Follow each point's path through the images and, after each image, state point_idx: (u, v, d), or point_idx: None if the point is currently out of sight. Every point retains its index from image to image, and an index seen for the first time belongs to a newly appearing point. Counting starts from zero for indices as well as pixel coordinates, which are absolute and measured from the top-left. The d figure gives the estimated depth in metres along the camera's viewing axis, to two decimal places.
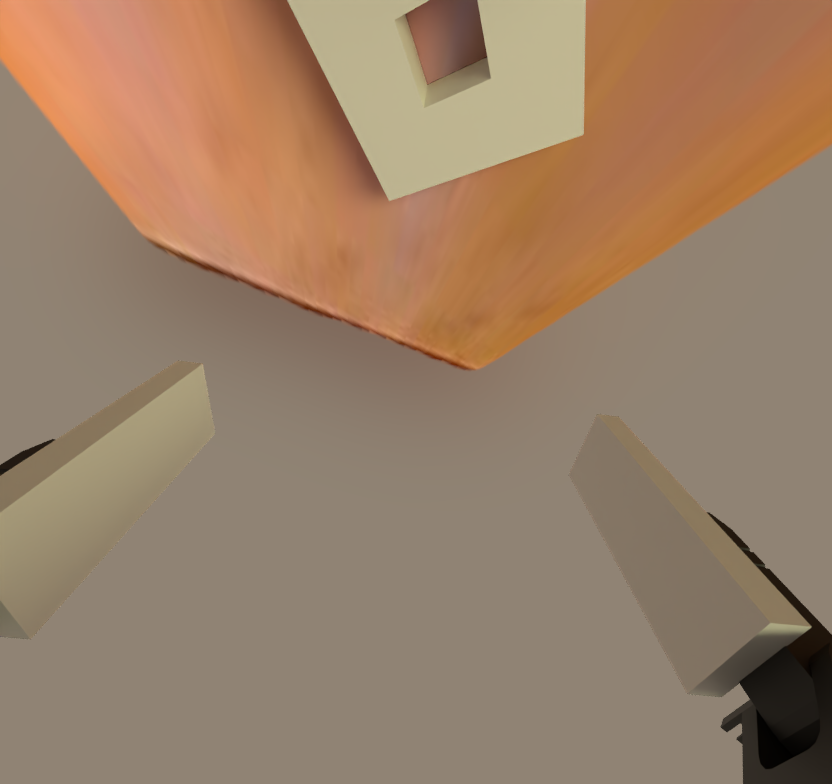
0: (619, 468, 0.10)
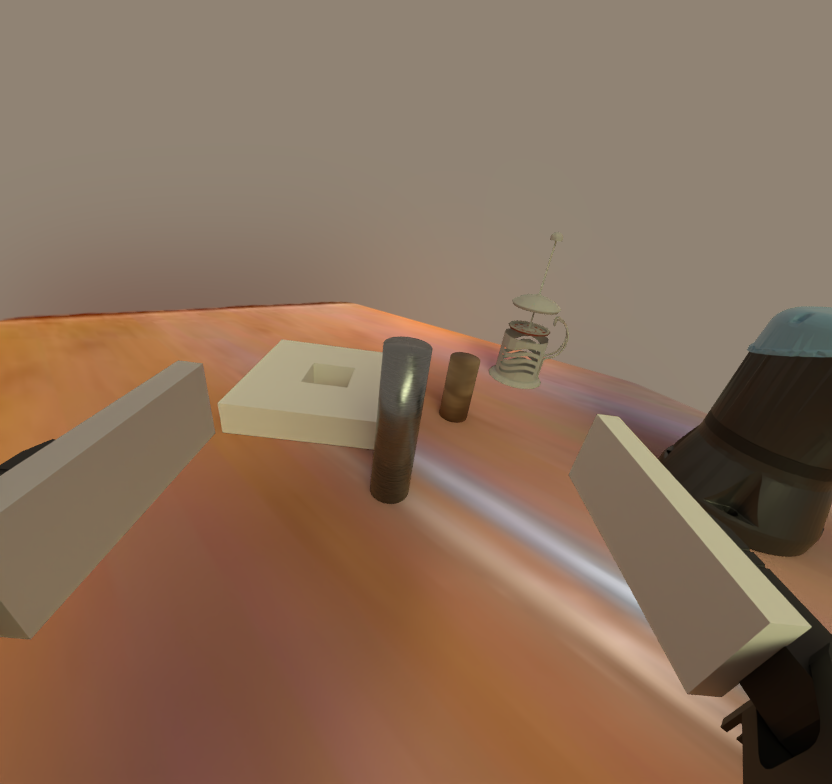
0: (619, 468, 0.10)
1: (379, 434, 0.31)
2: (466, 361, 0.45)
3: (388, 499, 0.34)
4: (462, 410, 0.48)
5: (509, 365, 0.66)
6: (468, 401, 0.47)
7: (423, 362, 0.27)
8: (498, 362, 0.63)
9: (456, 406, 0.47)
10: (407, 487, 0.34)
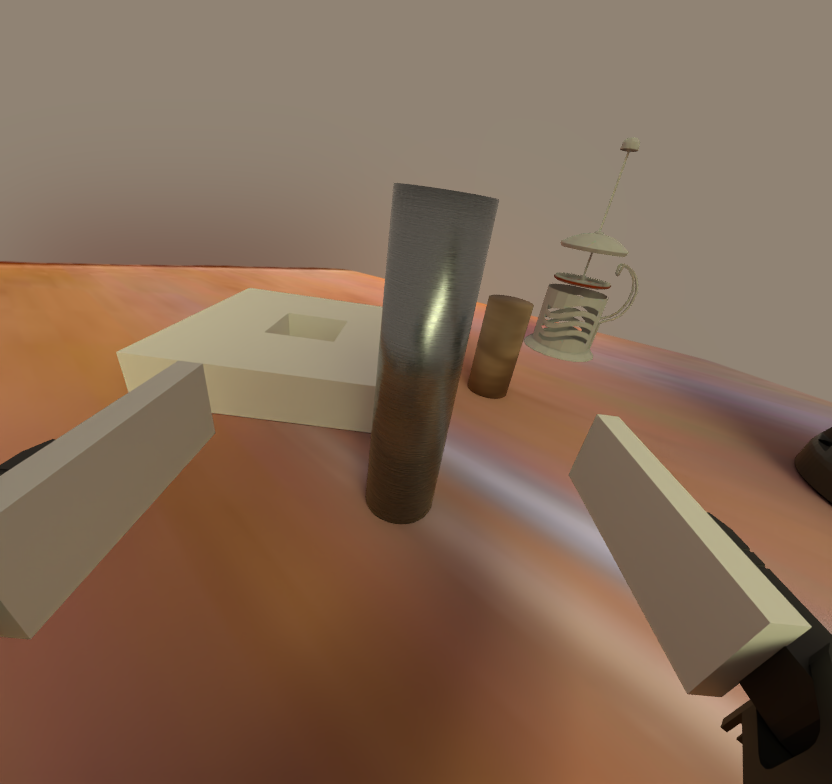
0: (619, 468, 0.10)
1: (382, 391, 0.16)
2: (514, 303, 0.30)
3: (398, 516, 0.19)
4: (503, 380, 0.33)
5: None
6: (512, 367, 0.32)
7: (483, 218, 0.12)
8: (538, 328, 0.48)
9: (494, 374, 0.32)
10: (431, 494, 0.19)
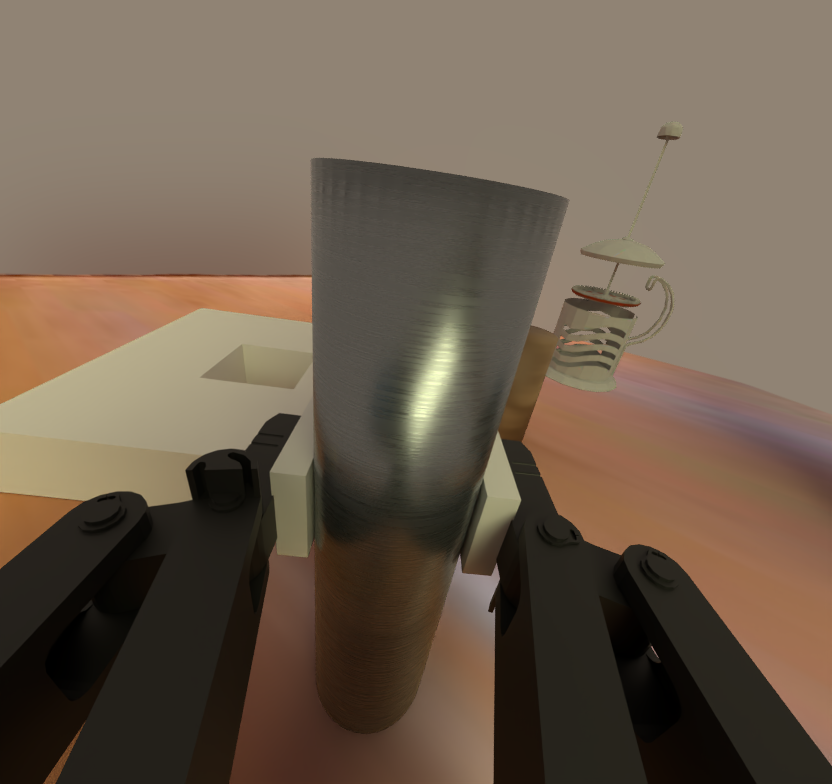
0: None
1: (321, 564, 0.08)
2: (533, 337, 0.23)
3: (363, 726, 0.11)
4: (517, 432, 0.25)
5: (564, 356, 0.44)
6: (529, 415, 0.25)
7: (536, 249, 0.05)
8: None
9: (506, 426, 0.25)
10: (419, 679, 0.12)
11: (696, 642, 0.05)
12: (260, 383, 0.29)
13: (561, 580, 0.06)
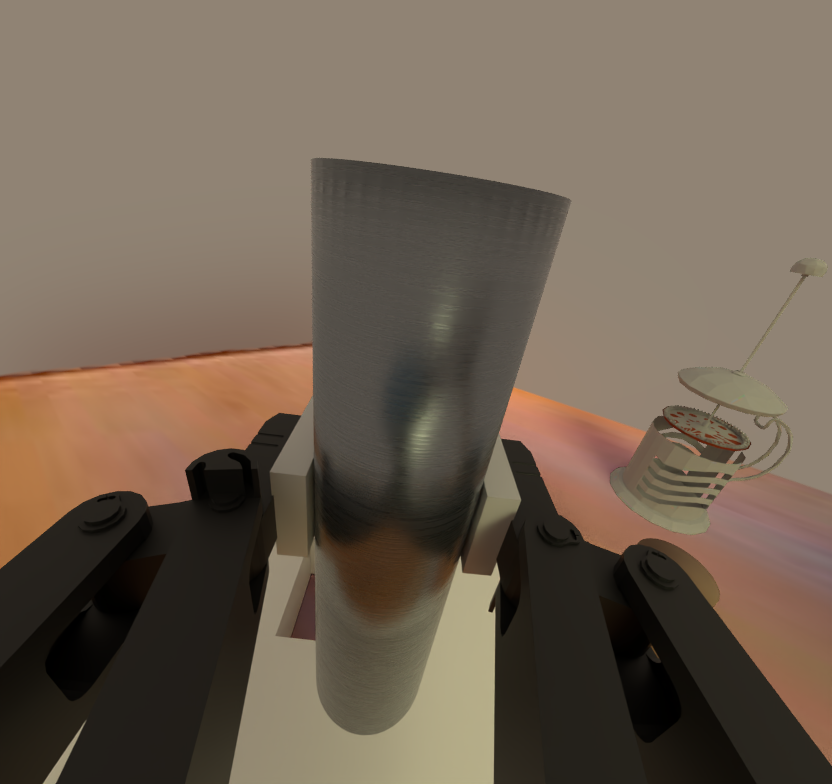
0: None
1: (322, 565, 0.08)
2: None
3: (363, 728, 0.11)
4: None
5: None
6: None
7: (537, 250, 0.05)
8: (635, 477, 0.36)
9: None
10: (420, 681, 0.12)
11: (696, 642, 0.05)
12: None
13: (561, 580, 0.06)
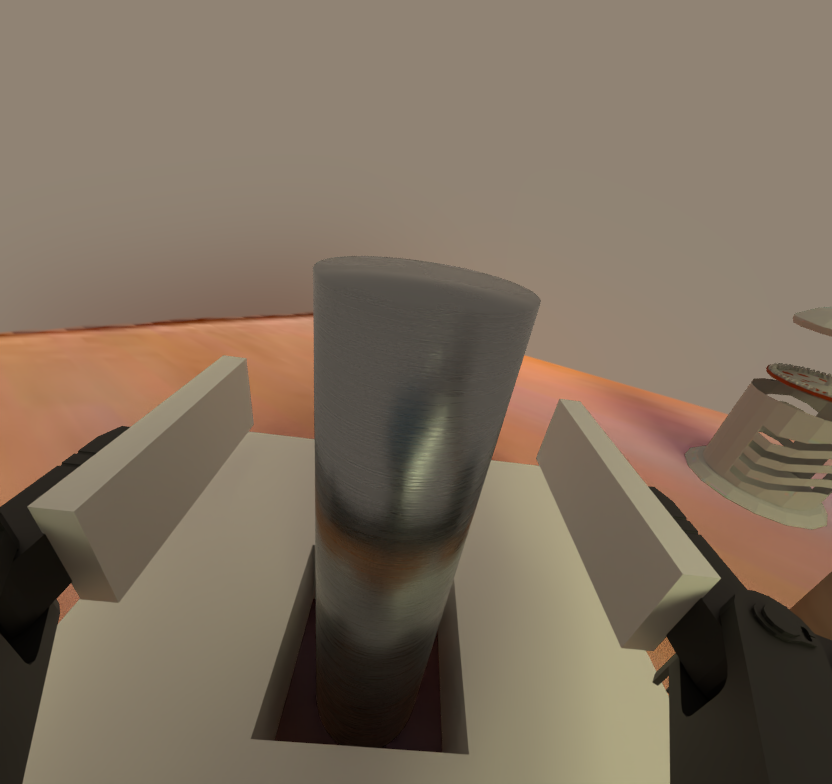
0: (575, 448, 0.11)
1: (322, 601, 0.09)
2: None
3: (361, 745, 0.12)
4: None
5: None
6: None
7: (509, 353, 0.05)
8: (728, 457, 0.28)
9: None
10: (414, 700, 0.13)
11: None
12: None
13: (792, 682, 0.05)
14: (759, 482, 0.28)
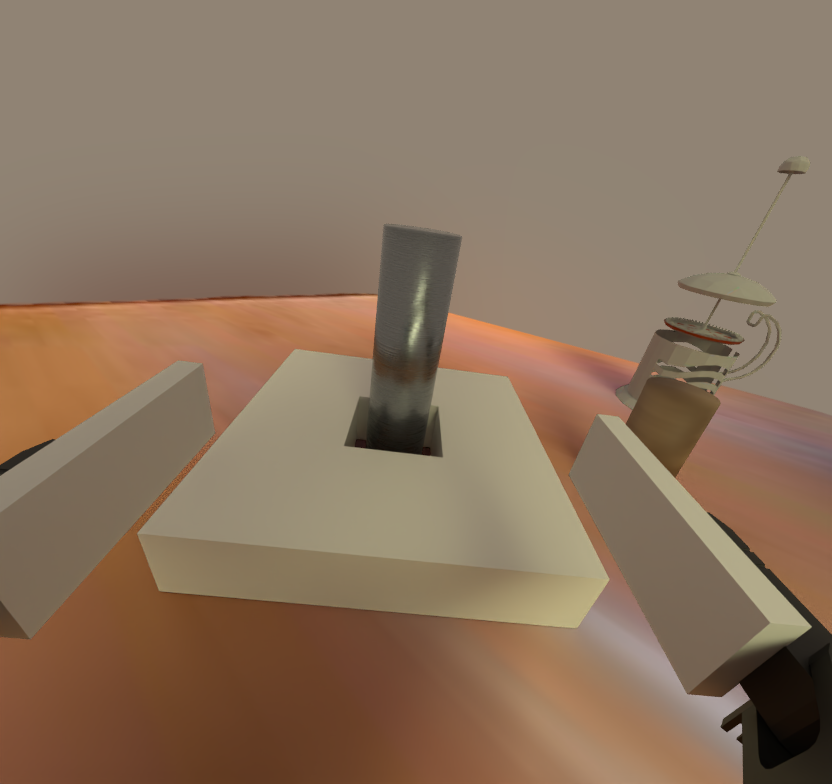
0: (619, 468, 0.10)
1: (376, 381, 0.20)
2: (694, 398, 0.21)
3: None
4: None
5: None
6: None
7: (449, 251, 0.17)
8: (640, 384, 0.39)
9: None
10: None
11: None
12: None
13: None
14: None
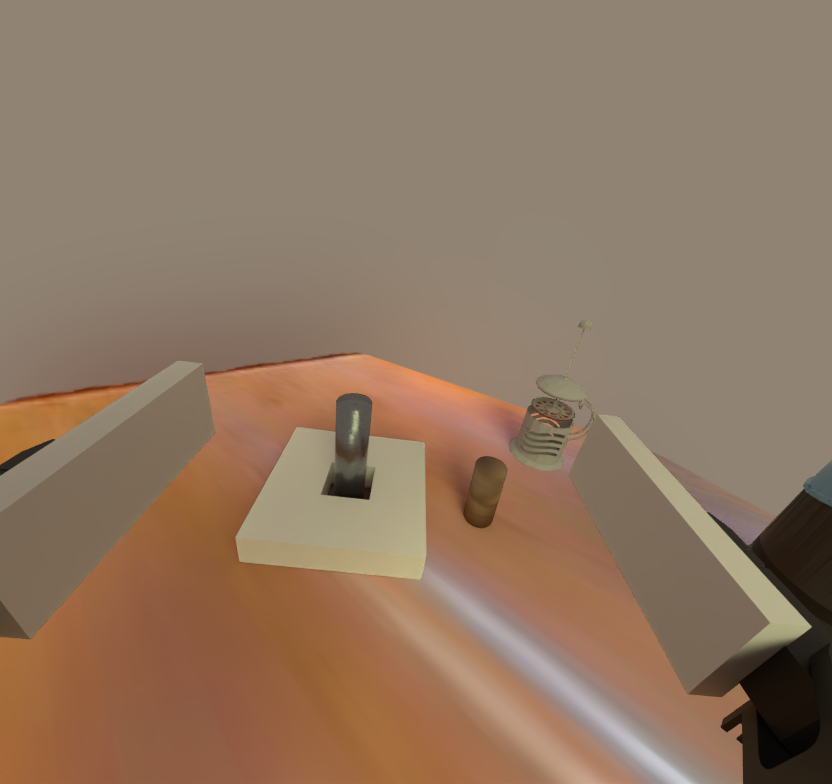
0: (619, 468, 0.10)
1: (336, 463, 0.42)
2: (494, 472, 0.42)
3: None
4: (490, 516, 0.45)
5: (530, 439, 0.64)
6: (496, 506, 0.45)
7: (364, 415, 0.38)
8: (519, 440, 0.61)
9: (484, 515, 0.45)
10: None
11: None
12: None
13: None
14: (533, 451, 0.61)
